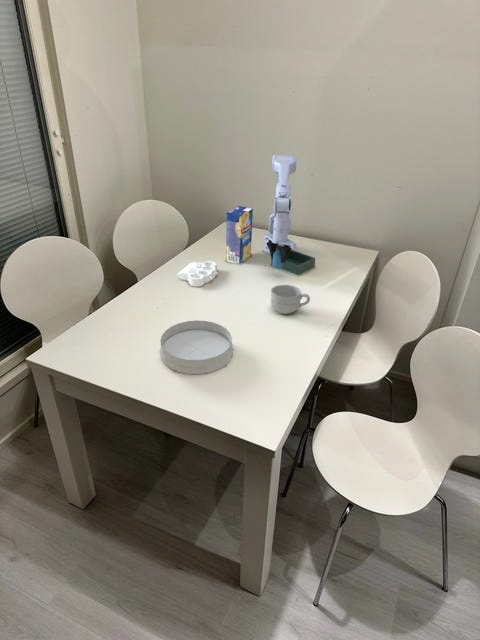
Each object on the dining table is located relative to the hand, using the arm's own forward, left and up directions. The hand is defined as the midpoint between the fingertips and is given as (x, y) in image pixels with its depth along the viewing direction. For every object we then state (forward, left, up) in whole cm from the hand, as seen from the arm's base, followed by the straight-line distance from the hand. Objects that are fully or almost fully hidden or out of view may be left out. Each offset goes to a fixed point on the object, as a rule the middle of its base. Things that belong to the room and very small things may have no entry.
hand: (278, 260), depth 185 cm
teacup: (+20, -19, -8) cm, 29 cm away
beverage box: (-24, +3, -8) cm, 25 cm away
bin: (-2, +13, -8) cm, 15 cm away
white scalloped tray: (-23, -22, -8) cm, 33 cm away
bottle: (0, 0, -2) cm, 2 cm away
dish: (+15, -60, -8) cm, 62 cm away
